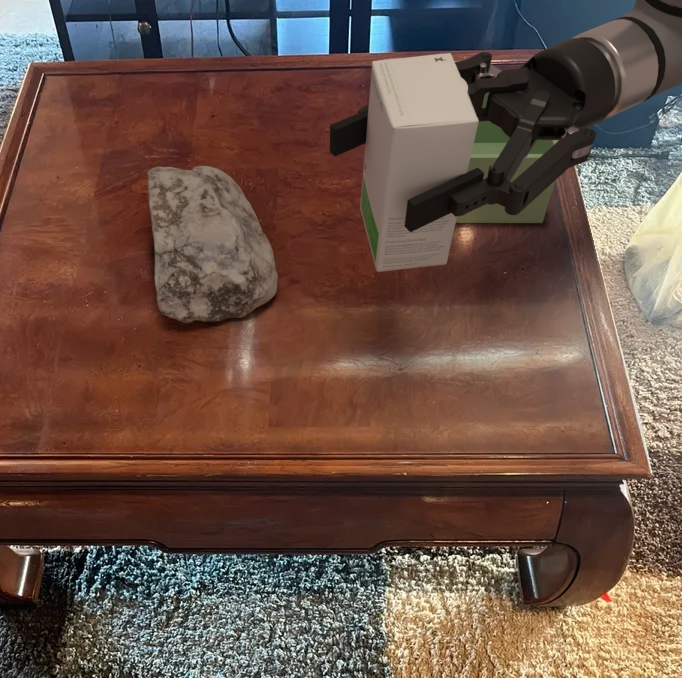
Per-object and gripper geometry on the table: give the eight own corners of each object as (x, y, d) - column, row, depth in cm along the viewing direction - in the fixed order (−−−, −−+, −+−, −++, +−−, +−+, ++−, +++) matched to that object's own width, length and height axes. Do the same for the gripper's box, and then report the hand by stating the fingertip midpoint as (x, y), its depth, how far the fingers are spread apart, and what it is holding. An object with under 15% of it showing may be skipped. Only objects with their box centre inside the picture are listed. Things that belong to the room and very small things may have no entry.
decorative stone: (136, 200, 95) (141, 139, 87) (247, 199, 99) (262, 140, 90) (154, 342, 86) (161, 289, 78) (276, 335, 89) (295, 284, 81)
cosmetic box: (359, 208, 73) (367, 57, 61) (430, 200, 74) (453, 48, 61) (376, 276, 68) (388, 126, 56) (453, 267, 69) (482, 116, 56)
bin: (542, 223, 92) (562, 157, 85) (417, 223, 93) (426, 157, 86) (525, 143, 101) (541, 77, 94) (410, 143, 102) (418, 78, 94)
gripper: (671, 188, 66) (452, 301, 60) (492, 56, 78) (295, 138, 72) (706, 111, 60) (467, 228, 54) (506, -19, 72) (292, 64, 66)
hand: (369, 177), depth 63 cm, fingers closed on cosmetic box, 10 cm apart
